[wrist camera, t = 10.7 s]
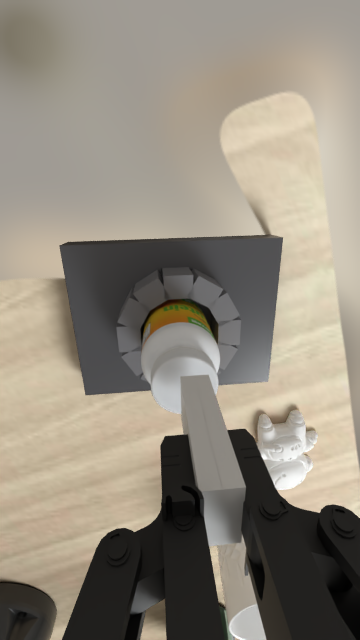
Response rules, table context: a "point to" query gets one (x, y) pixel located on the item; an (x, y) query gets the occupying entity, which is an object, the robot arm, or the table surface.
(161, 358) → the supplement bottle
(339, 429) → the table surface
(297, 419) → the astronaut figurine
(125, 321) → the square plate with collar
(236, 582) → the white cup
